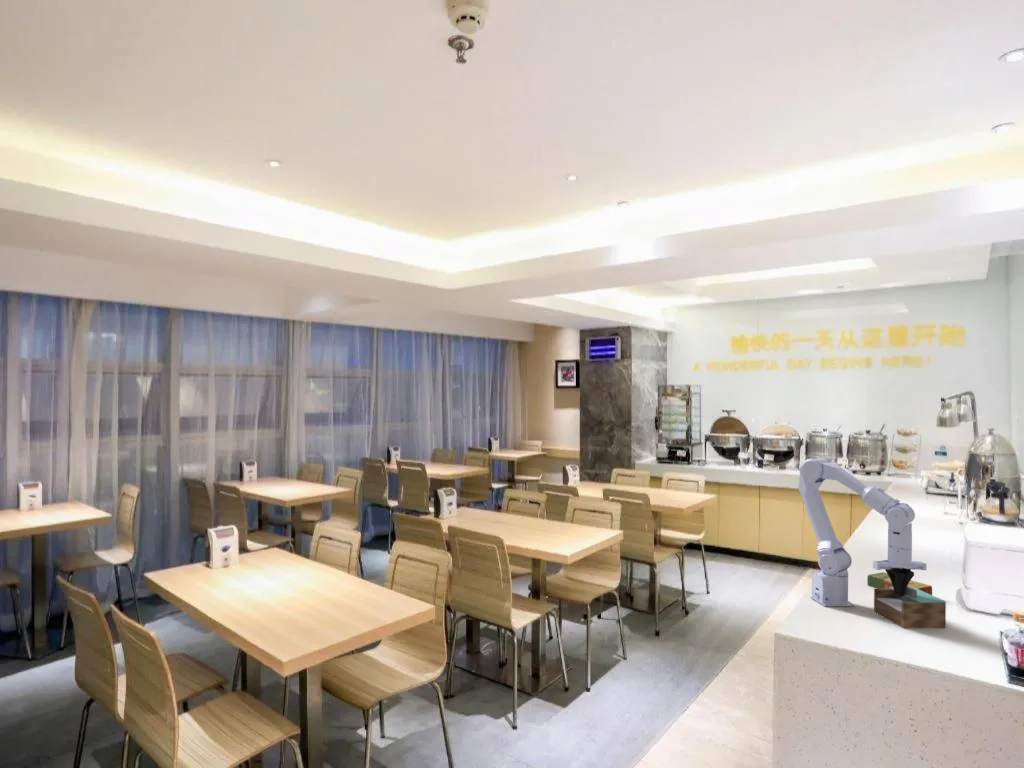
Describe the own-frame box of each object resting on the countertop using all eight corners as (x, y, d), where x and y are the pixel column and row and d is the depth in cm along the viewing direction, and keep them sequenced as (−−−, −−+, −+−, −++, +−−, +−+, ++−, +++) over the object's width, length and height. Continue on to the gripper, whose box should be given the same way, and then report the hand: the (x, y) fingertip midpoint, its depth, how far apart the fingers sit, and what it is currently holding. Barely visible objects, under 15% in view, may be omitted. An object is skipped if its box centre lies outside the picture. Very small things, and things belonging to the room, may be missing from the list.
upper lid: (920, 602, 161) (920, 594, 161) (889, 588, 173) (889, 580, 173) (945, 602, 161) (945, 594, 161) (913, 588, 173) (913, 580, 173)
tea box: (903, 628, 160) (903, 603, 160) (873, 611, 172) (874, 588, 172) (945, 628, 161) (945, 603, 161) (913, 611, 173) (913, 588, 173)
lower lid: (900, 611, 161) (900, 602, 161) (876, 599, 171) (876, 590, 171) (926, 611, 162) (926, 602, 162) (900, 599, 172) (901, 590, 172)
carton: (915, 602, 182) (915, 588, 182) (866, 586, 197) (866, 573, 197) (932, 599, 186) (932, 585, 186) (883, 583, 200) (883, 571, 200)
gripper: (884, 550, 162) (884, 599, 162) (935, 550, 163) (934, 599, 163) (868, 543, 169) (867, 591, 169) (916, 544, 170) (915, 591, 170)
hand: (899, 594), depth 166 cm, fingers closed
